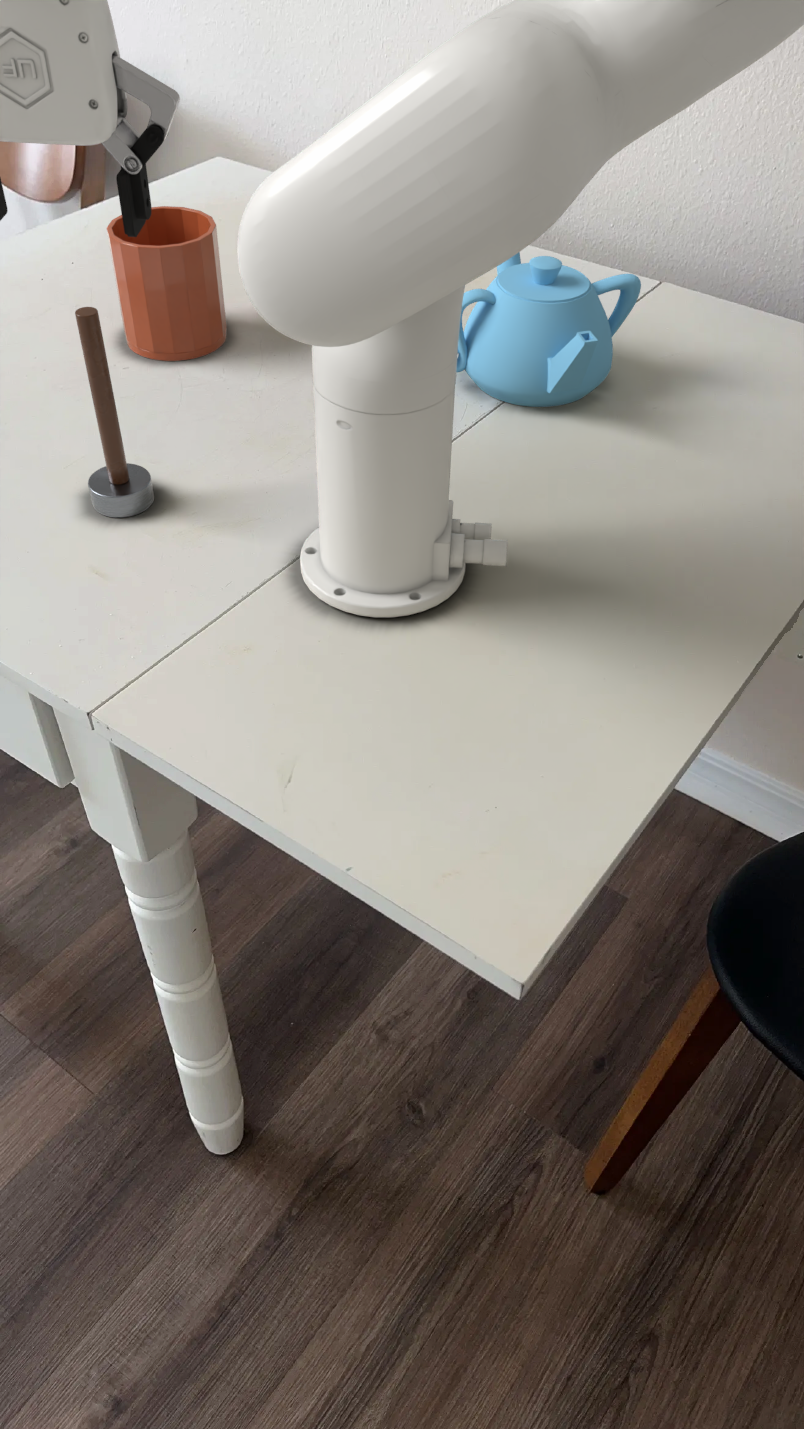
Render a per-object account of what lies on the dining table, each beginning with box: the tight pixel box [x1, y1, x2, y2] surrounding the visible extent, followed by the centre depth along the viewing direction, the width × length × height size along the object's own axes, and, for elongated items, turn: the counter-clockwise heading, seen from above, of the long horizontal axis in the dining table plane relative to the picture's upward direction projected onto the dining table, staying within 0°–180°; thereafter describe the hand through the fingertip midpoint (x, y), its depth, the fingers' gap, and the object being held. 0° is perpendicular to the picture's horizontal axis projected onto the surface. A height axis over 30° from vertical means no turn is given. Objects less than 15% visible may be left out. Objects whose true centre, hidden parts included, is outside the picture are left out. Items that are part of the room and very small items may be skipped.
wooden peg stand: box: [74, 306, 155, 518], centre depth 83 cm, size 5×5×16 cm
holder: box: [106, 205, 228, 362], centre depth 105 cm, size 10×10×11 cm
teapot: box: [456, 251, 642, 408], centre depth 101 cm, size 15×17×11 cm
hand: (65, 225), depth 73 cm, fingers open, 9 cm apart
